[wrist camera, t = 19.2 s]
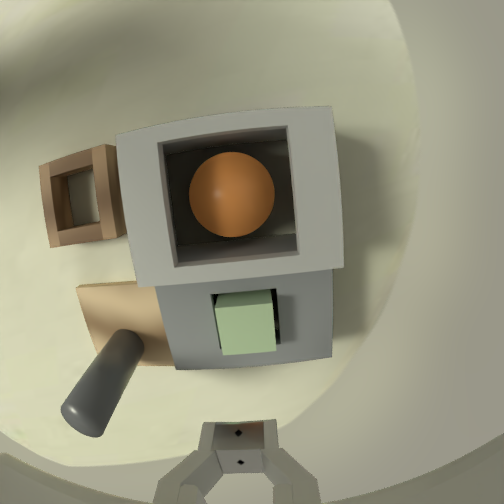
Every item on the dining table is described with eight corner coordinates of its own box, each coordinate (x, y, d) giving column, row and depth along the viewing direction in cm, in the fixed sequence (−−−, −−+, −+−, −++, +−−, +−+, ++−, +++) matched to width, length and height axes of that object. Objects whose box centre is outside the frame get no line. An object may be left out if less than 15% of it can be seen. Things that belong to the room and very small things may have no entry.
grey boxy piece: (150, 144, 20) (115, 134, 14) (310, 125, 19) (331, 106, 14) (184, 347, 24) (168, 390, 18) (322, 335, 24) (340, 377, 18)
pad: (79, 284, 23) (75, 288, 22) (157, 279, 22) (154, 282, 22) (104, 359, 25) (101, 363, 24) (177, 360, 24) (175, 366, 24)
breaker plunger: (194, 161, 20) (184, 158, 17) (267, 152, 19) (269, 147, 16) (202, 232, 21) (195, 241, 18) (274, 224, 21) (278, 232, 18)
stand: (56, 165, 20) (38, 166, 17) (119, 146, 20) (105, 144, 17) (66, 241, 22) (50, 248, 19) (130, 231, 21) (117, 237, 19)
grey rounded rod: (107, 329, 23) (52, 400, 13) (138, 328, 23) (90, 406, 13) (118, 358, 23) (74, 433, 14) (148, 358, 23) (110, 440, 14)
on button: (219, 290, 21) (214, 308, 18) (269, 285, 21) (272, 302, 18) (226, 333, 22) (223, 355, 19) (273, 329, 21) (276, 351, 19)
